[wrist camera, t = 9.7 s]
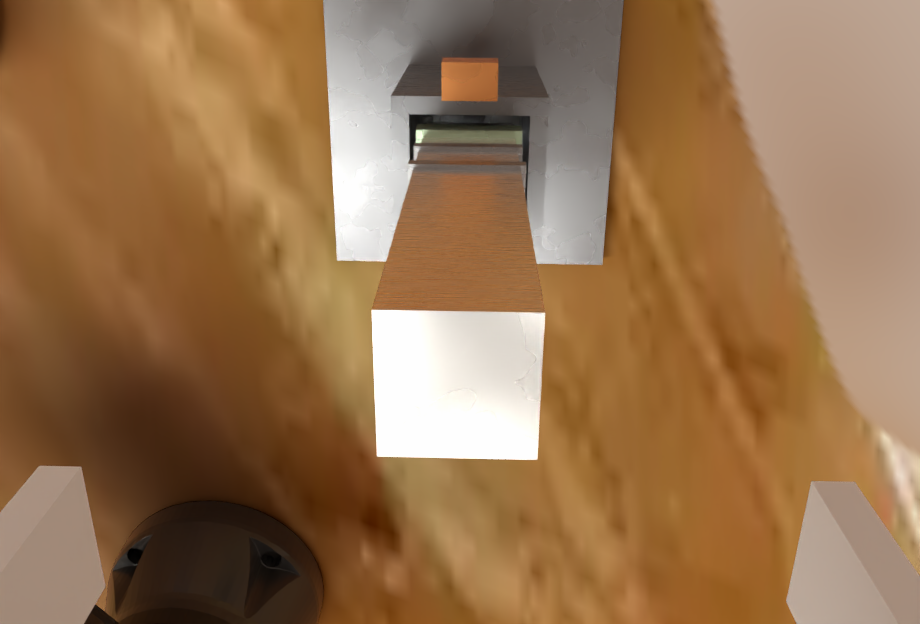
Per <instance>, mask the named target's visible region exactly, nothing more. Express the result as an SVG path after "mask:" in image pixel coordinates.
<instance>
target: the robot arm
mask: <svg viewBox="0 0 920 624" xmlns="http://www.w3.org/2000/svg"><path fill="white" fill-rule="evenodd" d="M104 588H105V581H104V576H103V571H102V566H101V561H100V557H99V552H98V547H97V542H96V537H95V532H94V527H93V522H92V517H91V512H90V507H89V502H88V497H87V493H86V488H85V483H84V478H83V473H82V468H81V467H74V466H39V467H38V468H37V469H36V470H35V472H34V473H33V474H32V475H31V476H30V478H29V479H28V480H27V481H26V482H25V483H24V485H23V486H22V487H21V488H20V489H19V491H18V492H17V493H16V494H15V495H14V497H13V498H12V499H11V500H10V501H9V503H8V504H7V505H6V506H5V507H4V508H3V510H2V511H1V512H0V624H318V620H319V616H320V612H321V608H322V603H323V581H322V577H321V573H320V570H319V567H318V565H317V563H316V561H315V559H314V557H313V555H312V554H311V552H310V551H309V549H308V548H307V547H306V545H305V544H304V543H303V542H302V541H301V540H300V539H299V538H298V537H297V535H295V534H294V533H293V532H292V531H291V530H290V529H288V528H287V527H286V526H284V525H283V524H281V523H280V522H278V521H277V520H275V519H273V518H272V517H270V516H268V515H266V514H264V513H261V512H259V511H257V510H254V509H251V508H248V507H245V506H241V505H237V504H233V503H227V502H218V501H198V502H189V503H183V504H179V505H175V506H172V507H169V508H166V509H164V510H162V511H159V512H157V513H156V514H154V515H152V516H150V517H149V518H147V519H146V520H145V521H144V522H142V523H141V524H140V525H139V526H138V527H137V528H136V529H135V530H134V531H133V532H132V534H131V535H130V536H129V538H128V540H127V541H126V543H125V545H124V546H123V548H122V550H121V552H120V553H119V555H118V557H117V558H116V560H115V563H114V565H113V568H112V570H111V573H110V577H109V582H108V590H107V599H106V608H105V612H104V611H103V610H102V609H101V608H99V607H98V606H97V605H95V604H96V602H97V600H98V599H99V597H100V595H101V593H102V592H103V590H104ZM786 602H787V604H788V606H789V608H790V611H791V613H792V615H793V617H794V619H795V621H796V624H920V576H919V574H918V573H917V572H916V570H915V569H914V567H913V566H912V564H911V563H910V561H909V560H908V559H907V557H906V556H905V554H904V553H903V551H902V550H901V548H900V547H899V545H898V544H897V543H896V541H895V540H894V538H893V537H892V535H891V534H890V532H889V531H888V529H887V528H886V527H885V525H884V524H883V522H882V521H881V519H880V518H879V516H878V515H877V514H876V512H875V511H874V509H873V508H872V506H871V505H870V503H869V502H868V500H867V499H866V498H865V496H864V495H863V493H862V492H861V490H860V489H859V487H858V486H857V485H856V483H855V482H830V481H811V486H810V491H809V495H808V500H807V505H806V510H805V514H804V519H803V524H802V529H801V534H800V538H799V543H798V548H797V553H796V558H795V562H794V567H793V572H792V577H791V582H790V586H789V591H788V596H787V601H786Z"/></svg>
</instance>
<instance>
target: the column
mask: <svg viewBox="0 0 920 624" xmlns="http://www.w3.org/2000/svg"><path fill="white" fill-rule="evenodd" d="M522 154H523V146H522V127H521V125H513V123H451V122H427V124H418V125H417V128H416V143H414V160H409V162H408V189H407V192H406V195H405V199H404V202H403V205H402V209H401V212H400V216H399V219H398V222H397V226H396V229H395V233H394V236H393V239H392V243H391V246H390V249H389V253H388V256H387V260H386V263H385V266H384V270H383V273H382V276H381V280H380V283H379V287H378V290H377V293H376V297H375V300H374V304H373V307H372V334H373V361H374V388H375V415H376V443H377V457H425V458H475V459H526V460H537V455H538V436H539V417H540V398H541V379H542V361H543V342H544V323H545V310H544V304H543V298H542V292H541V286H540V280H539V275H538V269H537V263H536V257H535V251H534V245H533V239H532V234H531V228H530V222H529V216H528V210H527V204H526V199H525V187H526V162H522Z"/></svg>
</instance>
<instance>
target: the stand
mask: <svg viewBox="0 0 920 624" xmlns="http://www.w3.org/2000/svg"><path fill="white" fill-rule="evenodd" d="M623 2H624V0H323V4H324V23H325V42H326V60H327V79H328V98H329V117H330V136H331V155H332V173H333V192H334V211H335V230H336V249H337V261H386V260H387V256H388V253H389V249H390V246H391V243H392V239H393V236H394V233H395V229H396V226H397V222H398V219H399V216H400V212H401V209H402V205H403V202H404V199H405V195H406V192H407V189H408V162H409V160H414V143H416V128H417V125H418V124H427V122H451V123H513V125H521V127H522V146H523V154H522V162H526V187H525V199H526V204H527V210H528V216H529V222H530V228H531V234H532V239H533V245H534V251H535V257H536V263H537V264H590V265H602V263H603V250H604V238H605V226H606V213H607V201H608V188H609V176H610V164H611V151H612V139H613V126H614V114H615V102H616V89H617V77H618V64H619V52H620V39H621V27H622V15H623Z"/></svg>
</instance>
